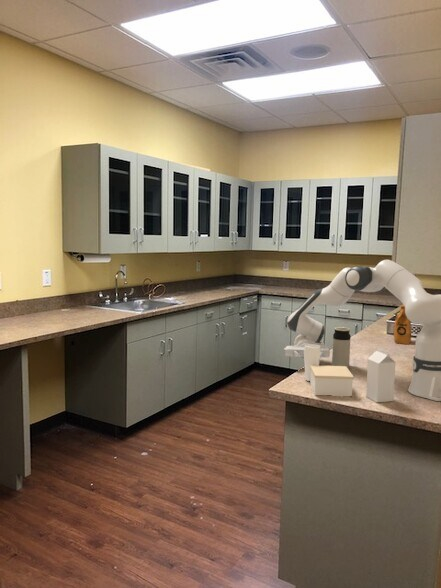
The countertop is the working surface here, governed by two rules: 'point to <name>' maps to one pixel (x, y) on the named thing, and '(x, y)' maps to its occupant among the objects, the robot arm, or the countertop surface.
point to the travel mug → (341, 347)
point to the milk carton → (380, 377)
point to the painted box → (331, 380)
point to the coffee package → (402, 328)
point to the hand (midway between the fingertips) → (309, 355)
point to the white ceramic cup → (311, 358)
